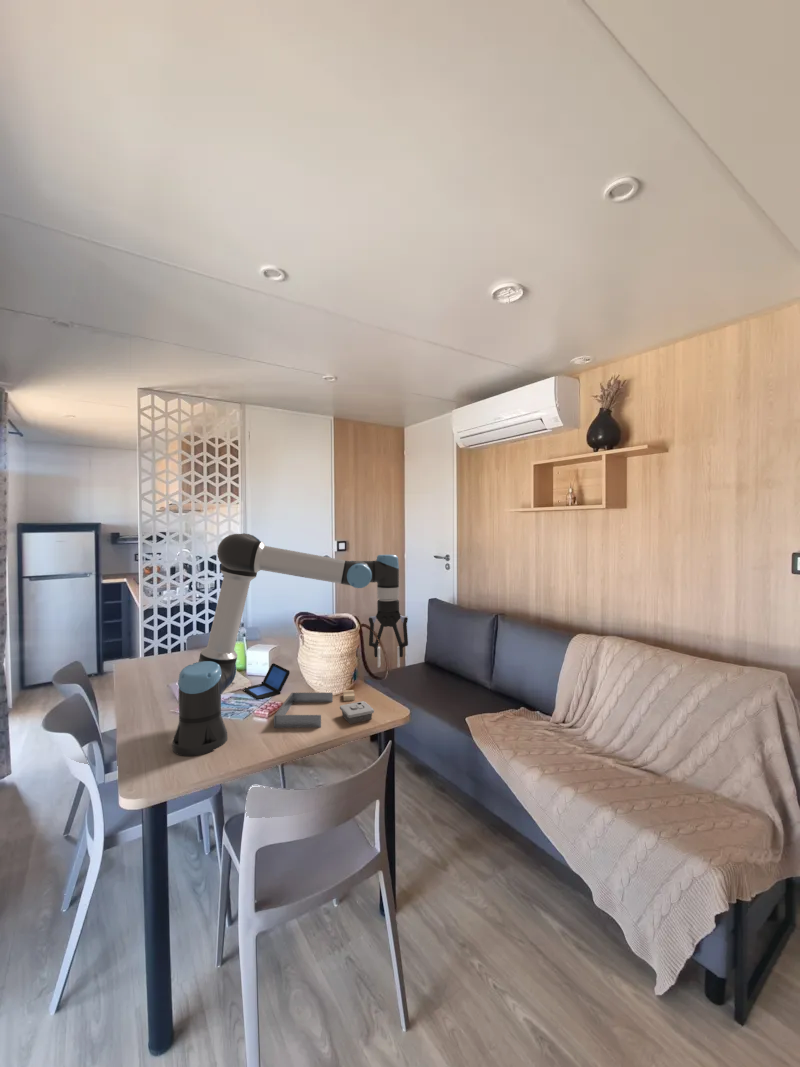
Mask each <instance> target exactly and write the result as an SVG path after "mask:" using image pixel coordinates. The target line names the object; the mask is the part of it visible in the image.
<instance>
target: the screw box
mask: <svg viewBox="0 0 800 1067" xmlns="http://www.w3.org/2000/svg"><path fill="white" fill-rule="evenodd" d="M355 695H356V694H355V690H354V689H349V690H346V689H344V690H343V691H342V696H343V697H342V698H343V702H350V700H351V701H356V696H355Z"/></svg>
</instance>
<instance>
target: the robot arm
mask: <svg viewBox="0 0 800 1067" xmlns="http://www.w3.org/2000/svg"><path fill="white" fill-rule="evenodd" d="M216 552H217V558H218V561H219V562H220V564H221V566H220V572H221V574H222V576H223V578H222V582H221V586H220V590H219V595H218V600H217V603H216V608H215V612H214V616H213V621H212V625H211V627H210V628H211V629H210V632H209V637H208V642H207V646H205V647H204V648H203V649H201V650H200V654H199V658H198V662H193V663H192V664H188V665H187V666H184V668H182V669H181V670H180V672H179V675H178V682H177V687H178V724H177V728H176V730H175V734H174V736H173V740H172V751H173V753H175V754H176V755H179V756H184V757H187V756H188V757H190V756H191V757H192V756H193V757H194V756H202V755H205V754H210V753H212V752H215V751H216V749H218V748H220V747H222V746H223V745H224V744H226V742H227V741H228V730H227V728H226V725H225V722H224V719H223V717H222V695H223V693H224V692H225V690H226V689H228V688H229V686H231V685H232V683H233V681H234V680H235V677H236V675H237V660H238V653H237V652H236V650H235V647H236V643H237V639H238V635H239V630H240V627H241V621H242V619H243V613H244V610H245V605H246V601H247V597H248V593H249V588H250V584H251V581H252V580H253V579H255V578H257V573H259V571H263V572H264V571H265V572H272V573H276V574H282V575H288V576H293V577H300V578H305V579H311V580H316V581H323V582H328V583H333V584H334V583H335V584H341V585H345V586H350V587H353V588H355V589H363V588H365V587H367V586H368V585H369V584H370V583H376V589H377V590H376V592H377V593H376V594H377V599H378V600H377V603H376V604H377V606H376V607H377V608H376V609H377V612H376V615H374V616H369V618H368V621H369V622H368V623H369V637H368V638H369V640H368V645H369V647H372V648H373V650H374V652H373V653H374V654H373V656H374V658H377V668H381V646H379V643H380V641H381V637H382V635H383V631H384V628H387V627H390V628H392V629H393V632H394V635H395V637H396V641H397V644H398V646H397V647H396V648H397V650H396V651H397V653H396V654H397V656H396V657H397V658H396V659H397V663H396V664H397V665H396V666H397V668H401V667H400V666H401V664H400V663H401V658H403V656H404V647H408V645H409V639H408V638H409V637H408V625H407V624H408V620H409V617H408V616H407V615H406V616H405V615H401V613H400V600H399V598H400V586H399V585H400V565H399V557H398V555H396V554H378V555H377V556H376V559H374V560H345V559H339V558H334V557H330V556H329V557H328V556H322V555H317V554H312V553H306V552H300V551H295V550H291V549H289V550H288V549H284V548H279V547H272V546H269V545H268V546H267V545H266V544H265V543H264V542H263V541H261V540H260V539H259V538H258V537H256V536H254V535H253V534H250V533H232V534H230V535H228V536H226V537H224V538H223V539H222V540H221V541H220V543H219V544H218V547H217V551H216ZM376 620H377V621H378V623H379V624H380V627H379V630H378V633H377V636H376V639H375V641H374V634H375V633H373V632H375V623H376ZM400 620H401V623H402V628H403V629H402V630H403V640H402V637H401V635H400V634H401V633H400V630H399V628H398V622H399V621H400ZM370 629H371V630H372V631H373V632H372V631H371V630H370ZM377 637H378V639H379V642H378V640H377Z"/></svg>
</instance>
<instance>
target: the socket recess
mask: <svg viewBox="0 0 800 1067" xmlns="http://www.w3.org/2000/svg"><path fill="white" fill-rule="evenodd" d="M333 693H334V692H291V693H290V694H289V696H288V697H287V698H286V699H285V701H284V702H283V703H282V705H281V706H280V707H279V709H278V710H277V711H276V712H275V713H274V715H273V728H274V729H289V728H292V729H293V728H294V729H295V728H296V729H297V728H299V729H300V728H301V729H302V728H303V729H304V728H305V729H306V728H322V714H287V713H288V712H289V710H290V708H292V706H293V704H294V703H333V700H334V699H333V697H334V696H333Z"/></svg>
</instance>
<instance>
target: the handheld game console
mask: <svg viewBox="0 0 800 1067" xmlns="http://www.w3.org/2000/svg"><path fill="white" fill-rule="evenodd" d="M289 676H290V670H289V669H286V668H285V667H283V666H280V665H279V664H276V663H274V662H273V663H271V665H270V667H269V668H268V670H267V672H266V674H265V676H264V679H263V681H261V683H259V684H254V685H250V686H247V687H248V688H246V687H244V688H245V689H244V690H245V691H246V692H247V693H246V692H245V691H244V692H245V693H246V694H248V693H249V694H250V695H249V694H248V695H249V696H251V695H252V696H253V698H254V697H255V698H256V699H255V698H254V699H255V700H257V699H262V700H264V699H268V698H272V697H275V696H278V695H281V694H282V690H283V688H284V686H285V684H286V682H287V680H288V678H289ZM252 696H251V697H252Z"/></svg>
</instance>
